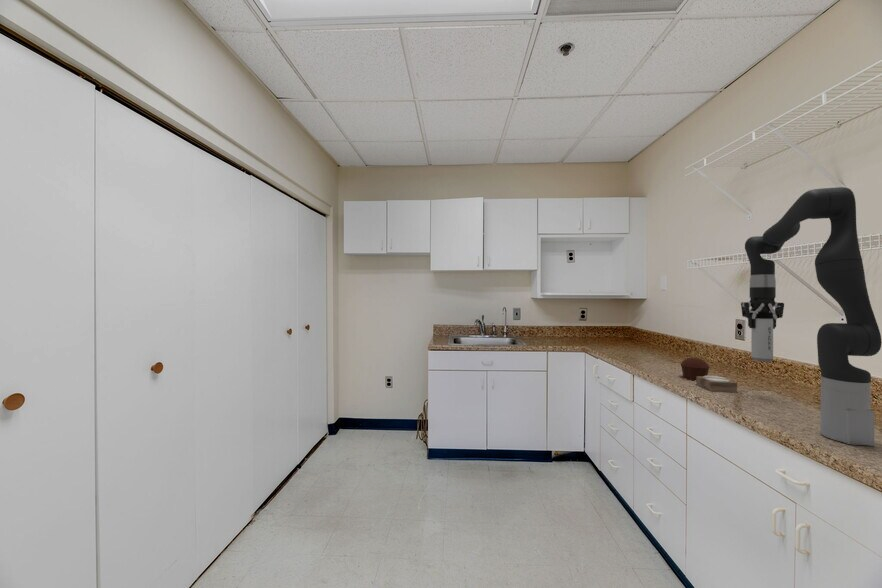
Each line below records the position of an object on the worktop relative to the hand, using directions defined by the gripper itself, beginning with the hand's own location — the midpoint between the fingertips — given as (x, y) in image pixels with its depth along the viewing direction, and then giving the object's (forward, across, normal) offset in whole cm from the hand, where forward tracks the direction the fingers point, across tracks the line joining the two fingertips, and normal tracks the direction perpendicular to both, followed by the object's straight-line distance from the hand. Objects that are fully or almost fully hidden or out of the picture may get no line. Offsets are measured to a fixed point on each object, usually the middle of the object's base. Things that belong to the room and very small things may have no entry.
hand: (762, 328), depth 134 cm
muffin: (+28, -8, +29) cm, 41 cm away
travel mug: (+13, 0, 0) cm, 13 cm away
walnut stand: (+28, -9, +12) cm, 32 cm away
